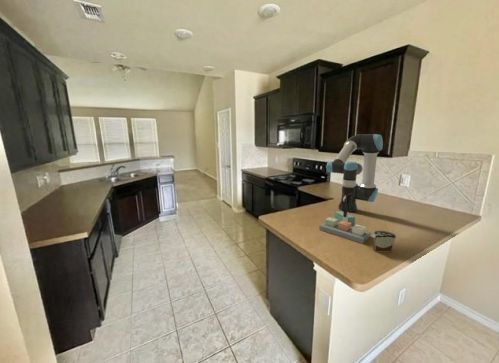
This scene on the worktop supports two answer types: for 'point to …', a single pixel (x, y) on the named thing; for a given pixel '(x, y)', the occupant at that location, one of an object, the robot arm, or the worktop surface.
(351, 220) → the box
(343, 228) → the terracotta button
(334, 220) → the sage button
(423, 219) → the worktop surface
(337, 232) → the button board
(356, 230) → the pale grey block
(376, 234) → the food container
